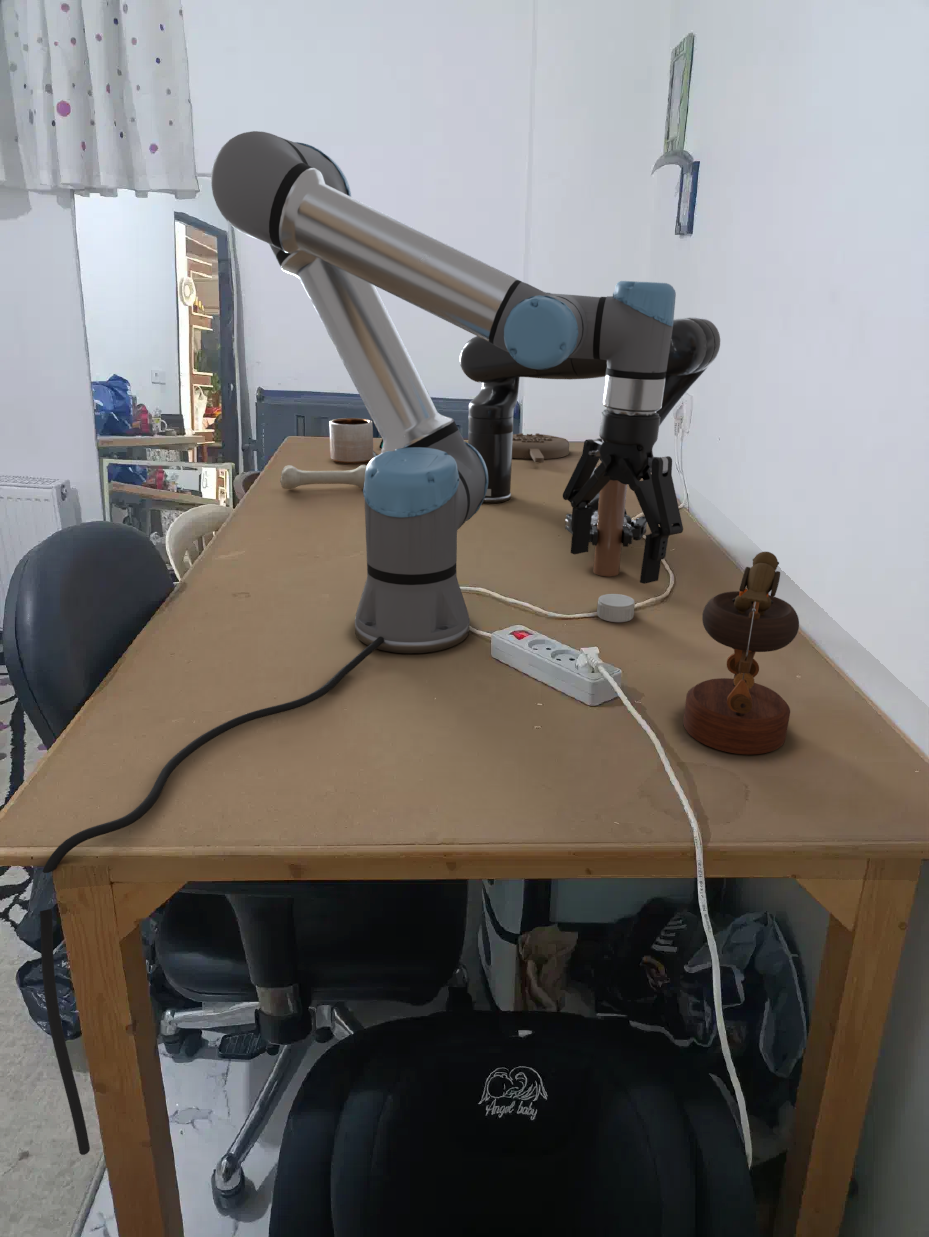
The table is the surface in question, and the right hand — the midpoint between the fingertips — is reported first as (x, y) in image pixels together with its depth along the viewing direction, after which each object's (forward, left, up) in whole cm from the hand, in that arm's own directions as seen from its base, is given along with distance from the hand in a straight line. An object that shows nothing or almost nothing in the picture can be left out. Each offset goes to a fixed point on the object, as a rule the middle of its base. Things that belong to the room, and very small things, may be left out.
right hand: (610, 539), depth 132 cm
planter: (-99, -18, -6) cm, 101 cm away
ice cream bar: (-89, +28, -6) cm, 94 cm away
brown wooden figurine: (+46, -11, -6) cm, 48 cm away
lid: (+14, -7, -4) cm, 17 cm away
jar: (-2, +1, -6) cm, 7 cm away
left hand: (+14, -8, +1) cm, 16 cm away
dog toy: (-71, -30, -6) cm, 77 cm away
